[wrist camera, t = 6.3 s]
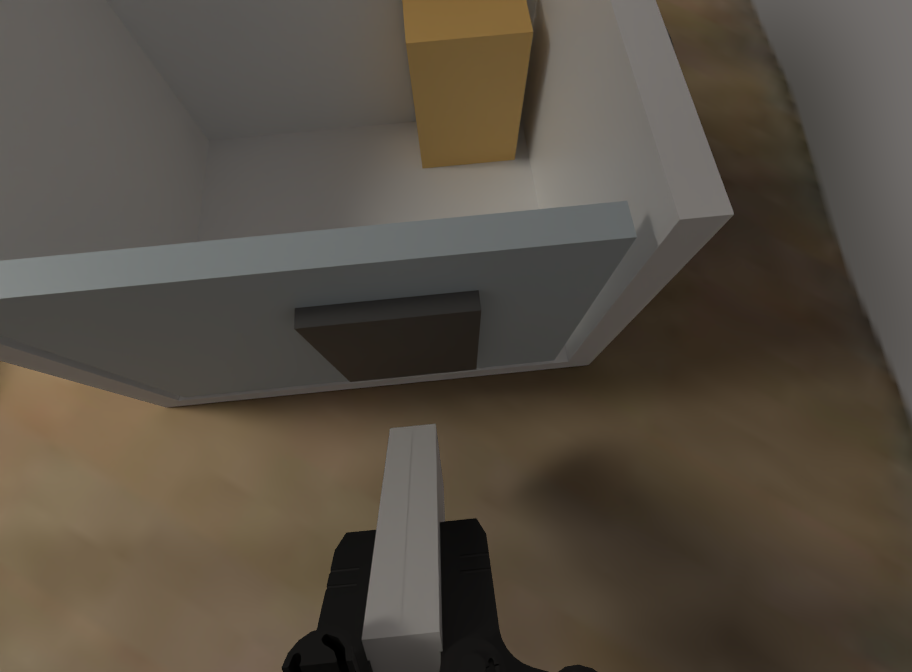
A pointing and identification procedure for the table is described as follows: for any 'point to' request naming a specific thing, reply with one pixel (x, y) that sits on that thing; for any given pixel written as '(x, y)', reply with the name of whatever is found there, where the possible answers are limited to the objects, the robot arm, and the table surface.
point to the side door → (323, 300)
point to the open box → (344, 135)
